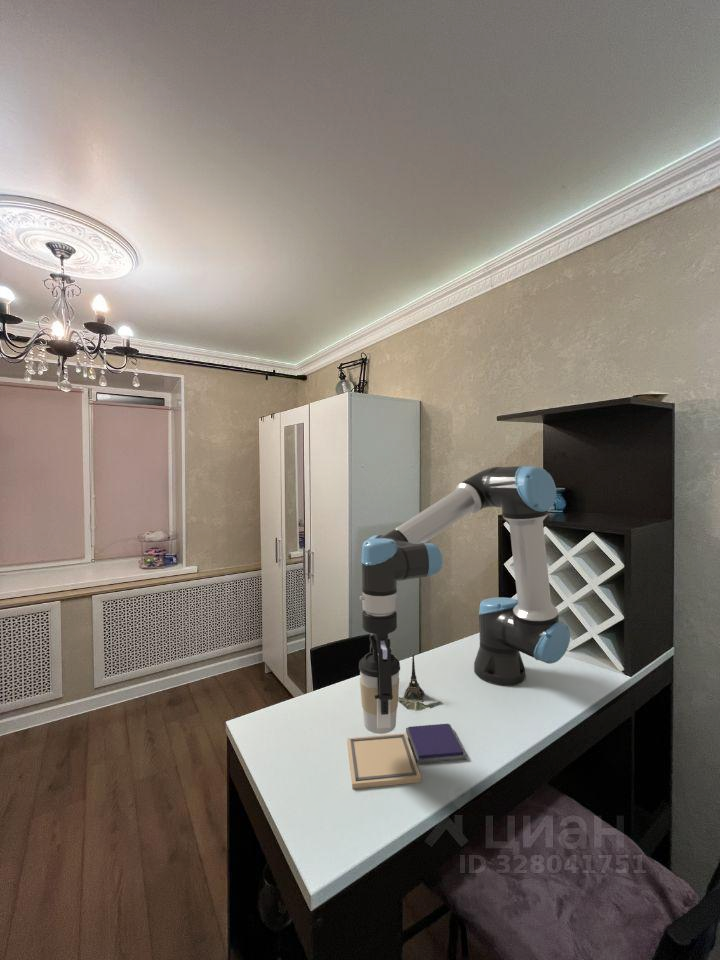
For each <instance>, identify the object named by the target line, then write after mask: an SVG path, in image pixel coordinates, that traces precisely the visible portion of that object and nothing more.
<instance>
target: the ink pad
mask: <svg viewBox="0 0 720 960" xmlns="http://www.w3.org/2000/svg"><path fill="white" fill-rule="evenodd" d="M405 733H406V735H407V738H408V741H409V744H410V747H411V750H412V753H413V756H414V759H415V762H416V765H425V764H434V763H435V764H436V763H445V762H458V761H466V760H467V754H466V752H465V750H464V748H463V746H462V744H461V742H460V741H459V739H458V737H457V734H456V733H455V731H454V729H453V726H452V725H451V724H450V723H440V724H438V723H437V724H427V725H415V726H414V725H413V726H408V727H406V728H405Z"/></svg>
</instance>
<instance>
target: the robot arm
mask: <svg viewBox="0 0 720 960" xmlns="http://www.w3.org/2000/svg"><path fill="white" fill-rule="evenodd" d="M556 498H557V487H556V484H555V481H554V478H553V477H552V475H551V474H550V472H548V471H547V470H546V469H544V468H542V467H539V466H531V465H519V466H516V465H515V466H493V467H489V468H486V469H483V470H481V471H479V472H477V473H475V474H473V475H472V476H470V477H468V478H466V479H464V480H463V481H461V482H460V483H458V484H457V485H456V486H455V488H454V490H453V491H452V492H450V493H449V494H447V495H446V496H444V497H442V498H441V499H439V500H437V502H435V503H433V504H432V505H430V506H428V507H427V508H425V509H423V510H422V511H420V512H419V513H417V514H415V515H414V516H413V517H411V518H410V519H408V520H406V521H405V522H404V523H402V524H401V525H399V526H397V527H395V528H393V530H390V531H389V532H387V533H386V534H385V535H382V534H376V535H375V534H374V535H372V536H370V537H369V538H368V539H366V540H365V541H363V543H362V549H361V559H360V562H361V586H362V587H361V588H362V589H361V591H362V595H360V596H359V601H362V602H361V603H362V610H363V611H362V613H361V615H362V617H361V618H362V621H361V622H362V624H361V625H362V629H363V630H364V631H365V632H366V633H369V643H370V644H369V653H370V652H373V659H374V661H375V662H376V663H377V677H378V678H377V685H378V695H375V699H377V728H391V715H390V700H392V699H393V695H392V677H391V654H392V649H391V639H390V638H389V634H390V633H393V632H395V631H396V630H397V628H398V615H397V614H398V613H397V609H398V591H397V590H398V589H397V587H398V586H397V585H398V582H400V581H406V580H414V579H419V578H428V577H431V576H433V575H436V574H438V573H439V572H440V571H441V569H442V568H443V554H442V551H441V550H440V548H439V547H438V546H437V545H436V544H434V543H432V542H429V541H430V540H431V539H433V538H434V537H437V535H439V534H441V533H442V532H443V531H445V530H447V529H448V528H449V527H450V526H452V525H454V524H455V523H457V522H458V521H459V520H461V519H463V518H464V517H466V516H467V515H469V514H470V513H471V514H475V513H478V512H479V511H480V510H483V509H486V508H495V507H496V508H501V512H502V513H501V515H502V518H503V520H505V521H506V522H507V523H509V533H510V541H511V542H510V544H511V552H512V560H513V570H514V578H515V579H514V580H515V588H516V596H517V597H516V598H517V599H516V598H511V597H503V596H502V597H501V596H500V597H497V596H496V597H490V598H485V599H482V600H481V601H480V604H479V611H478V623H479V627H478V631H479V647H478V651H477V654H476V656H475V658H474V659H475V660H474V663H473V671H474V674H475V675H476V676H477V677H478V679H481V680H483V681H485V682H487V683H490V684H494V685H497V686H507V687H508V686H510V687H511V686H517V685H519V684H521V683H523V682H525V680H526V667H525V665H524V662H523V658H522V655H521V653H522V654H524V655H526V656H528V657H531V658H533V659H534V660H535V661H540V662H542V663H544V664H555V663H557V662H558V661H560V660H562V658H564V656H565V654H566V652H567V650H568V648H569V645H570V641H571V630H570V628H569V626H568V625H567V624H566V623H565V622H563V621H560V617H559V611H558V609H557V608H556V606H554V605H553V604H552V599H551V591H550V590H551V589H550V578H549V570H548V567H549V566H548V559H547V549H546V541H545V530H544V520H545V519H546V518H547V517H548V516H549V510H551V508H553V507H554V505H555V503H556V502H555V500H556ZM520 652H521V653H520ZM376 656H378V658H377V657H376Z"/></svg>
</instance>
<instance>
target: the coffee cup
mask: <svg viewBox="0 0 720 960" xmlns="http://www.w3.org/2000/svg"><path fill="white" fill-rule="evenodd" d="M376 657H377V658H378V656H376ZM358 670H359V676H360V677H359V683H360V685H359V686H360V697H361V698H360V699H361V707H362V713H363V725H364V726H363V727H364V728H365V729H366V730H367V731H369V732H371V733H373V734H377V735H378V734H379V735H386V734H389V733H391V732H392V731H394V729H396V725H397V713H398V711H397V710H398V704H399V701H398V697H399V689H400V671H401V664H400V661H399V659H398V658H396V657H395V655H394V654H393V653H391V677H392V695H393V699H392V700H390V715H391V728H377V699H375V695H378V685H377V678H378V677H377V663H376V662H375V661H374V659H373V652H370V651H369V652H368V653H366V654H365V655H364V656H363V657H362V658H361V659H359V662H358Z"/></svg>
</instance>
